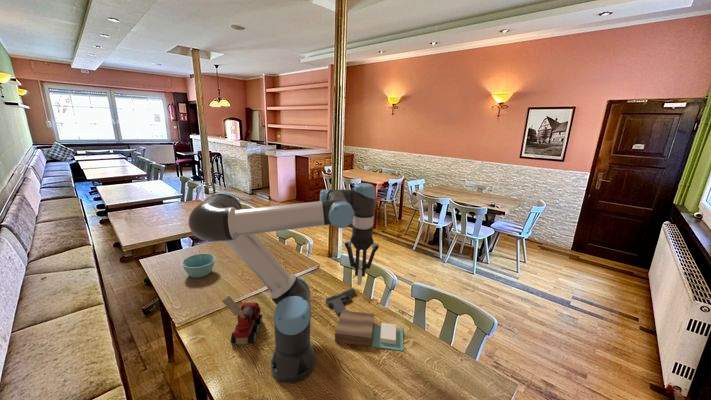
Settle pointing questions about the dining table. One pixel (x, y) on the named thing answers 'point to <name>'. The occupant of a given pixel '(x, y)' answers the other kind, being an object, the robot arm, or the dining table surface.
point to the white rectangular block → (388, 333)
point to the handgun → (340, 300)
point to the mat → (385, 345)
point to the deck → (355, 328)
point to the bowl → (198, 264)
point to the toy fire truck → (245, 321)
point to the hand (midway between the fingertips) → (359, 283)
